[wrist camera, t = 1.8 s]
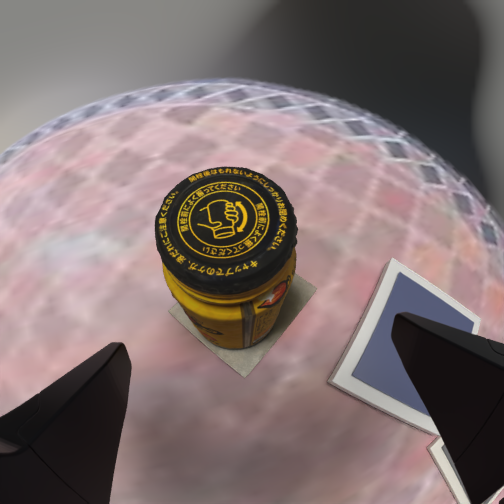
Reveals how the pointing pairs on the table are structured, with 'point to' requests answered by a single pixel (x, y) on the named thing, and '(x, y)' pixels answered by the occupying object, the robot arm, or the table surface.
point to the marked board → (451, 472)
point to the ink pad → (383, 350)
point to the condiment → (231, 262)
